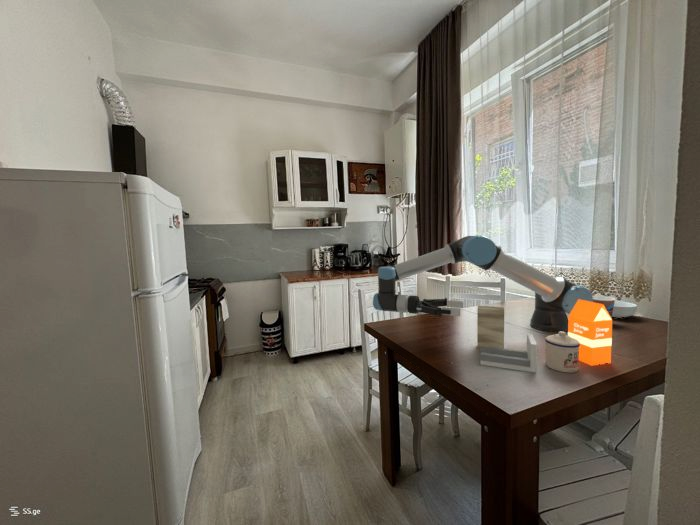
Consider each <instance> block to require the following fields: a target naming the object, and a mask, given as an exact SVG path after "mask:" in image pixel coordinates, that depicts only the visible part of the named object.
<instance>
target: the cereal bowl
mask: <svg viewBox="0 0 700 525" xmlns="http://www.w3.org/2000/svg"><path fill="white" fill-rule="evenodd" d="M614 301H615V302H614V308H613V313H612V316H613V317H624V318H627V317H631V316H634V315H635V314H636V312H637V310H638V305H637V304H635V303H632V302H627V301H621V300H614Z"/></svg>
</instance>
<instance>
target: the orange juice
mask: <svg viewBox="0 0 700 525" xmlns="http://www.w3.org/2000/svg"><path fill="white" fill-rule="evenodd" d="M567 318H568V331H567V335H568V336H570V337H571V338H574V339H576V340H578V341H579V343H580V346H579V362H582V363H585V364H587V365H590V366H591V367H593V366H599V364H600V365H605V363H608V364H612V362H611V361H612V344H613V318H611V317H610V315H609V313H608V312H607V310H606V308H605V307H604V305H603V304H599V303H594V302H590V301H585V300H580V299H578V301H577V303H576V304H575V306H574V308H573V309H572V311H571V313H570V314H568V317H567Z"/></svg>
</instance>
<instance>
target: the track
mask: <svg viewBox="0 0 700 525" xmlns="http://www.w3.org/2000/svg"><path fill="white" fill-rule="evenodd" d="M537 348H538V346H537V342H536V340H535V337H534V335H533V333H528V332H527V334H526V350H519V349H511V348H510V349H509V348H504V349H503V348H494V347H486V346H481V349H480V362H479V363H480V365H481V366H489V367H495V368H501V369H509V370H516V371H523V372H530V373H536V374H537V355H538V354H537Z"/></svg>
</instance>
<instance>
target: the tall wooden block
mask: <svg viewBox="0 0 700 525" xmlns="http://www.w3.org/2000/svg"><path fill="white" fill-rule="evenodd" d="M476 330H477V331H476V332H477V337H476V338H477V343H476V344H477V350H481V346H486V347H494V348H503V349H505V307H504V306H492V305H477V329H476Z"/></svg>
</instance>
